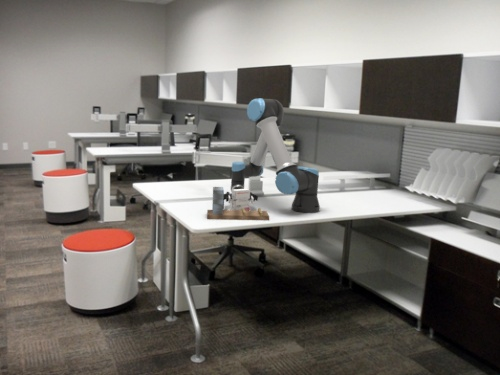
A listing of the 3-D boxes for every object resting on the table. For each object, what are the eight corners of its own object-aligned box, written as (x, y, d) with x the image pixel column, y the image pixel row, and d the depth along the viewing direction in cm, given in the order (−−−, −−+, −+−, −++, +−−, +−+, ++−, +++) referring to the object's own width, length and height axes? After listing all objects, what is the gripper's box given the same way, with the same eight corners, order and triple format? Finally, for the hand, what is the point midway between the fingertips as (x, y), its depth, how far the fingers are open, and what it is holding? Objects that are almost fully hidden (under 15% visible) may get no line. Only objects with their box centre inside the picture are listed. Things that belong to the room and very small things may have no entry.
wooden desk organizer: (266, 214, 242) (267, 187, 240) (269, 220, 232) (270, 191, 229) (207, 213, 240) (208, 186, 237) (207, 218, 229) (207, 190, 226)
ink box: (245, 210, 251) (246, 188, 249) (249, 212, 247) (250, 189, 244) (230, 211, 247) (231, 188, 245) (234, 213, 243) (235, 190, 240)
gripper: (259, 199, 265) (263, 208, 243) (217, 198, 263) (217, 207, 241) (259, 186, 264) (264, 194, 242) (217, 185, 261) (218, 193, 240)
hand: (241, 200), depth 242 cm, fingers open, 11 cm apart
